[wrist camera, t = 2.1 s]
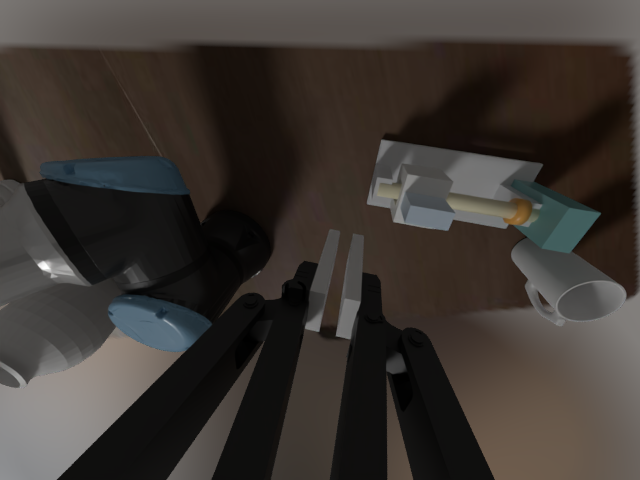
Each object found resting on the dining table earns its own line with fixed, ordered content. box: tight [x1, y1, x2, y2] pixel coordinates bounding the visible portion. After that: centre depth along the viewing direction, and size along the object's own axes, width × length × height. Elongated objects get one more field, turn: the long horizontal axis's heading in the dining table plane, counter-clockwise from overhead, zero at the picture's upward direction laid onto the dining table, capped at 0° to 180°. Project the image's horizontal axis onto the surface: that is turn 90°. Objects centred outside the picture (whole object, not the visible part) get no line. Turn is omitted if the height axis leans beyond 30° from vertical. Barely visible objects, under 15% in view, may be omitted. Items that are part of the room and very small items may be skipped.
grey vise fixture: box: [367, 139, 601, 253], centre depth 32 cm, size 22×10×12 cm, turn 83°
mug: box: [511, 237, 626, 326], centre depth 35 cm, size 10×7×12 cm, turn 177°
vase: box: [0, 278, 121, 388], centre depth 53 cm, size 18×18×25 cm
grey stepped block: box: [390, 163, 456, 231], centre depth 29 cm, size 5×6×10 cm
